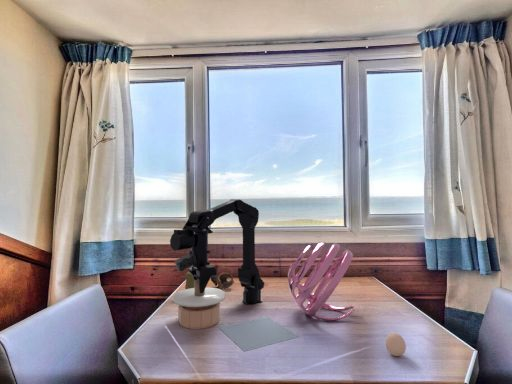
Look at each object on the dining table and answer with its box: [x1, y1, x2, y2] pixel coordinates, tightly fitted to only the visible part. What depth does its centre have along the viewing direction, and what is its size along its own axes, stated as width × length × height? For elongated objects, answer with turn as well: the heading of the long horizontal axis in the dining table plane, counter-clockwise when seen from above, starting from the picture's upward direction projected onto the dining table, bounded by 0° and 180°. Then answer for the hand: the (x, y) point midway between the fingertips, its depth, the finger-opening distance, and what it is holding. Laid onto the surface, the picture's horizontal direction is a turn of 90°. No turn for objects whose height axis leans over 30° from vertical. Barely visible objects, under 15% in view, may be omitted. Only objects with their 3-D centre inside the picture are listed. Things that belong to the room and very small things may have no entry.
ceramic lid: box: [172, 279, 226, 307], centre depth 109 cm, size 18×18×6 cm
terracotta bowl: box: [177, 302, 221, 330], centre depth 109 cm, size 14×14×6 cm
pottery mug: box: [210, 272, 235, 291], centre depth 151 cm, size 12×9×8 cm
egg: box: [385, 332, 407, 357], centre depth 85 cm, size 5×5×6 cm
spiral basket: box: [287, 241, 355, 322], centre depth 115 cm, size 28×28×27 cm
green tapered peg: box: [184, 271, 194, 290], centre depth 137 cm, size 6×6×11 cm
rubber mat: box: [217, 316, 300, 353], centre depth 99 cm, size 19×19×1 cm
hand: (199, 291), depth 109 cm, fingers closed on ceramic lid, 4 cm apart
